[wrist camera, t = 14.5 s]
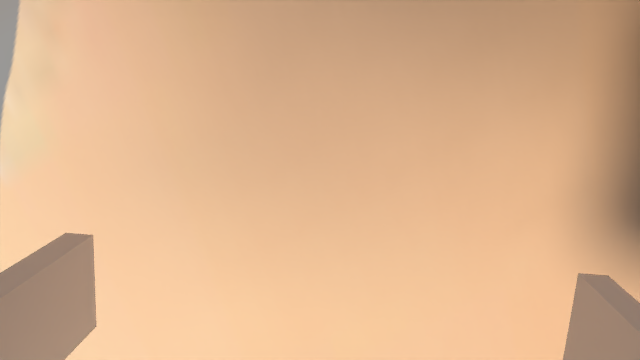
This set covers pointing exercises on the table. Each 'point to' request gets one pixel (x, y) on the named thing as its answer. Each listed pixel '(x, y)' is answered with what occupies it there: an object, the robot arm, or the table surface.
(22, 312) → the robot arm
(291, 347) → the table surface
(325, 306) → the table surface
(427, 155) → the table surface
